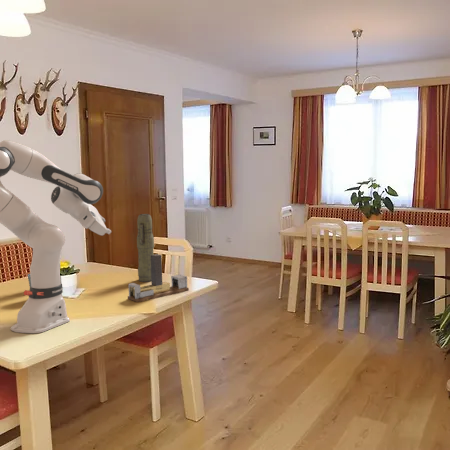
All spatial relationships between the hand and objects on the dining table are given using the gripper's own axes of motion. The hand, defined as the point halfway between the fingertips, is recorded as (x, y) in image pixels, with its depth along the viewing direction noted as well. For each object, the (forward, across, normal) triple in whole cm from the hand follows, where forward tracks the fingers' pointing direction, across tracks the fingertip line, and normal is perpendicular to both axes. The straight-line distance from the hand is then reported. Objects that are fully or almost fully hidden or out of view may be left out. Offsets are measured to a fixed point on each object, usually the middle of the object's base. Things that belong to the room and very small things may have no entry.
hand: (107, 226), depth 219 cm
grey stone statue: (+45, -6, -15) cm, 48 cm away
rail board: (+33, +21, -8) cm, 40 cm away
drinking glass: (0, +2, -46) cm, 46 cm away
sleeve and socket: (+33, +21, -8) cm, 40 cm away
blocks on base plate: (+29, +21, -9) cm, 37 cm away
